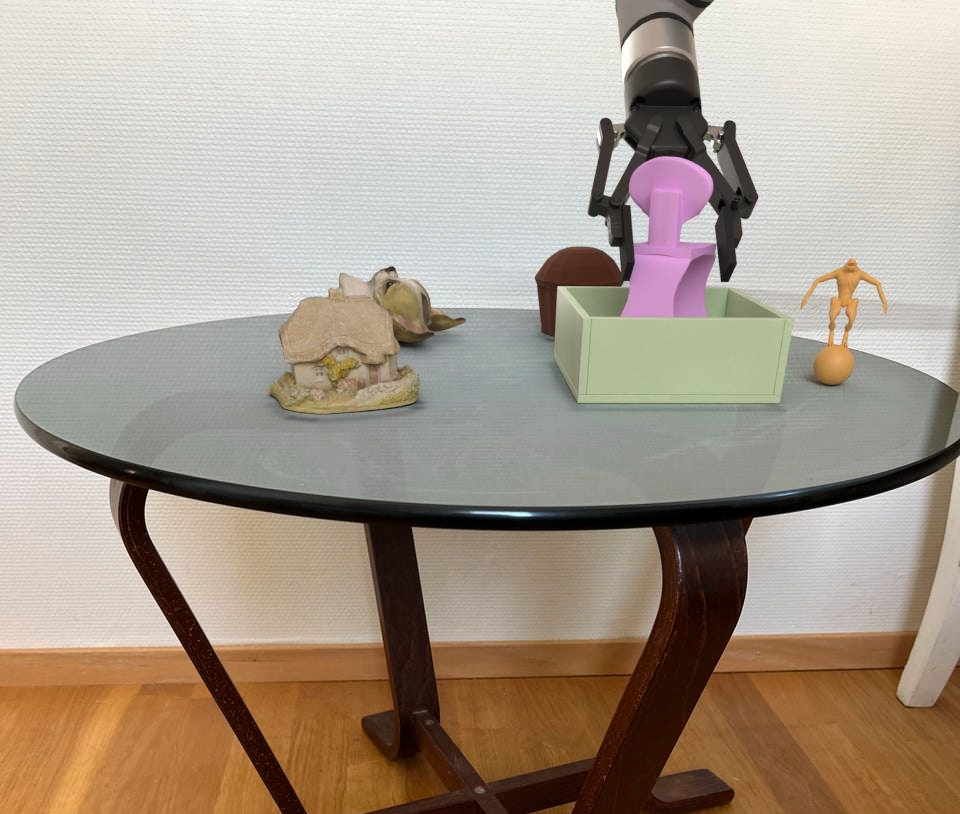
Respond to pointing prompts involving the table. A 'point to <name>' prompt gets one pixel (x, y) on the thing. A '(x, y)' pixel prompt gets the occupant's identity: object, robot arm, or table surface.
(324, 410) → the ceramic model
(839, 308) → the figurine
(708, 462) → the table surface
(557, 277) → the muffin
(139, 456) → the table surface
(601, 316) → the bin
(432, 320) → the ceramic sculpture
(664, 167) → the toy chair
